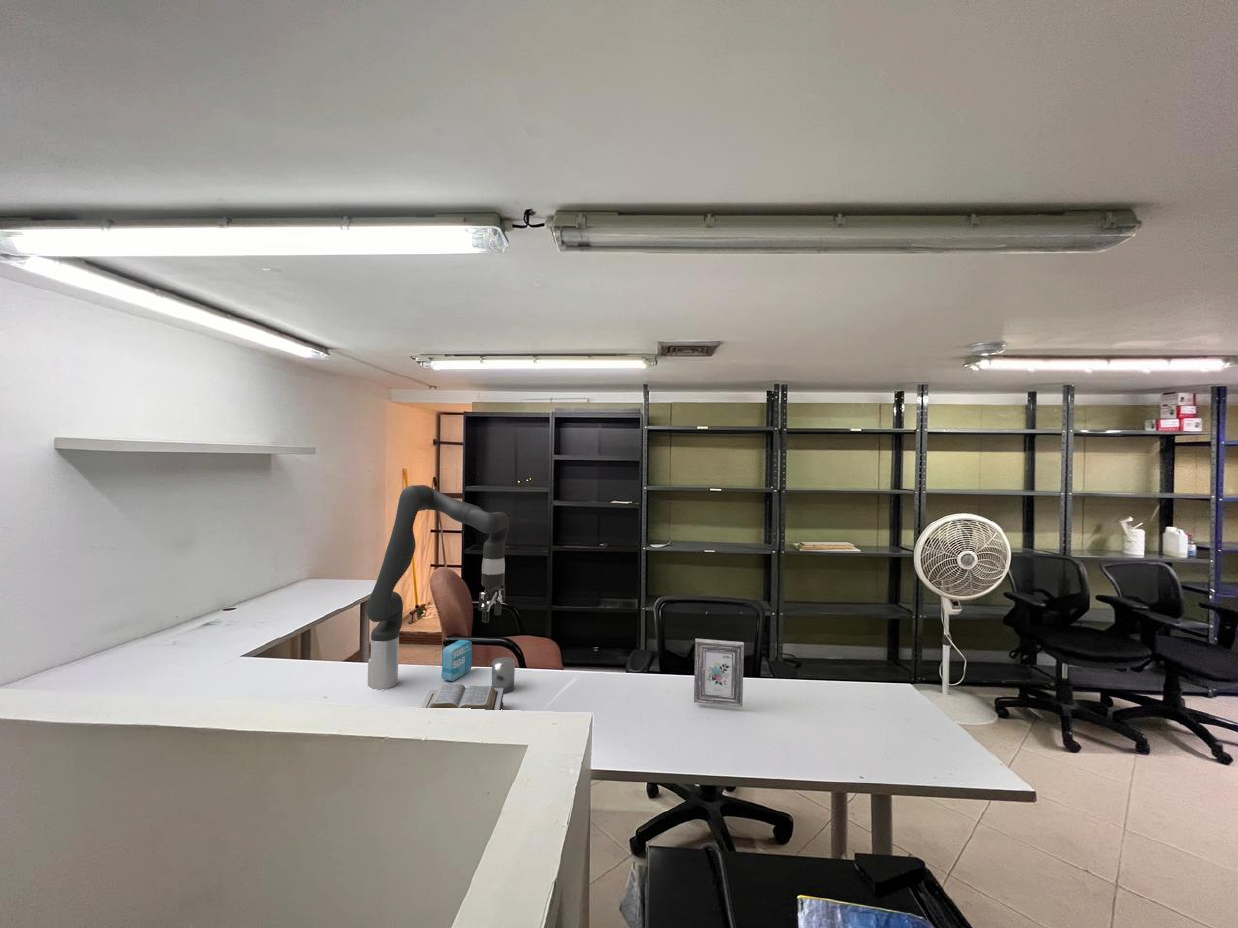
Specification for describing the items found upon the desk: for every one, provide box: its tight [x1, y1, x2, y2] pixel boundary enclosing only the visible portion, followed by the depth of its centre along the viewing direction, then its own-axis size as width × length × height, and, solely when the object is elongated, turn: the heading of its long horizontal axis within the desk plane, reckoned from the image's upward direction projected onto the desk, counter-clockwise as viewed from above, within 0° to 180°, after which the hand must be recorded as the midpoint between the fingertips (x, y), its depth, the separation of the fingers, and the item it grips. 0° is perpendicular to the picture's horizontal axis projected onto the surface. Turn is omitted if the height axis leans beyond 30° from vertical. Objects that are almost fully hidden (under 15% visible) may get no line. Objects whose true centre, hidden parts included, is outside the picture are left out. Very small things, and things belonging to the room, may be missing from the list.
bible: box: [420, 682, 504, 710], centre depth 154 cm, size 23×27×10 cm
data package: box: [441, 639, 473, 682], centre depth 187 cm, size 12×4×12 cm, turn 160°
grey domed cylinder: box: [491, 656, 516, 695], centre depth 177 cm, size 8×8×10 cm
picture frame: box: [693, 638, 745, 708], centre depth 170 cm, size 16×2×22 cm, turn 81°
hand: (491, 618), depth 166 cm, fingers open, 8 cm apart
